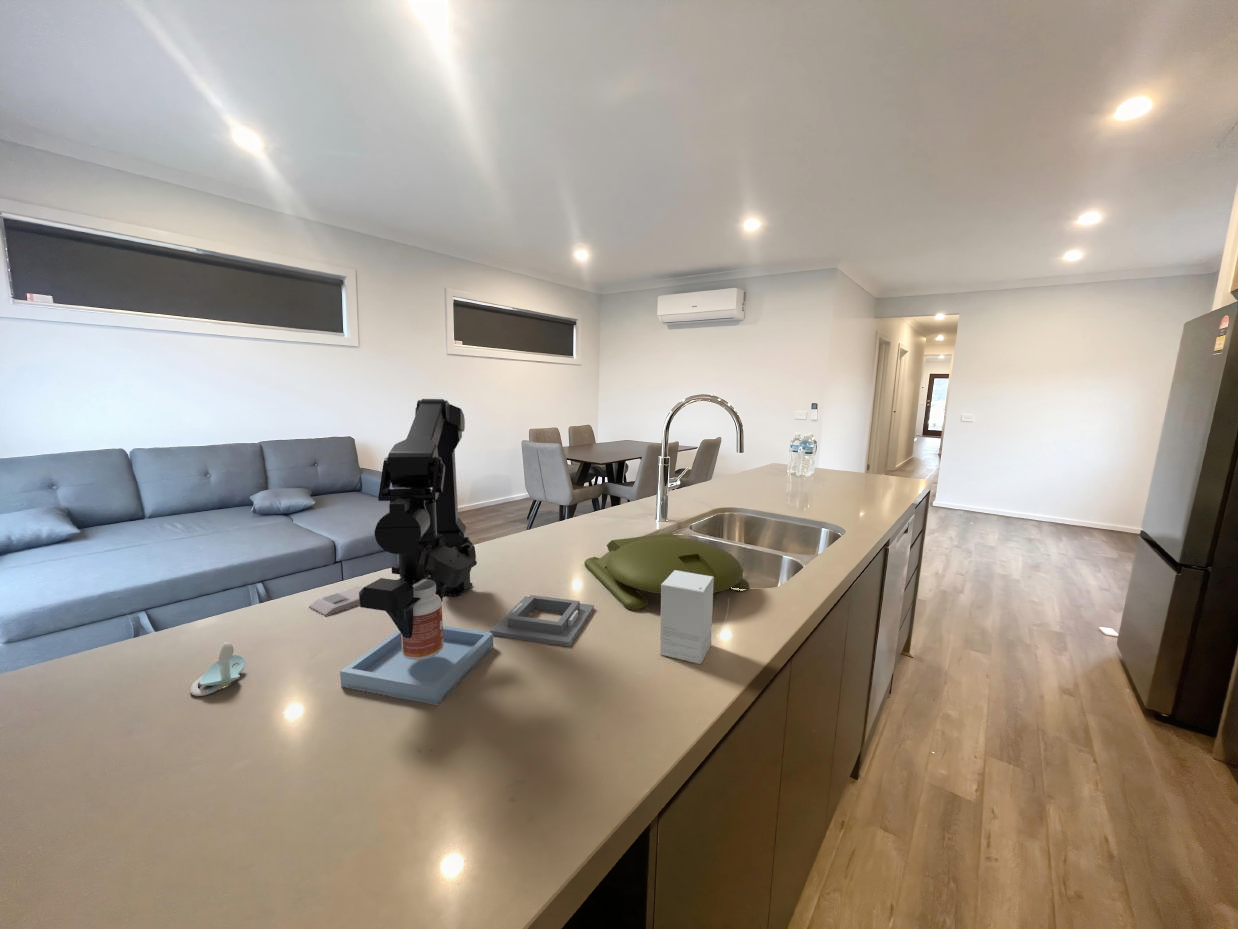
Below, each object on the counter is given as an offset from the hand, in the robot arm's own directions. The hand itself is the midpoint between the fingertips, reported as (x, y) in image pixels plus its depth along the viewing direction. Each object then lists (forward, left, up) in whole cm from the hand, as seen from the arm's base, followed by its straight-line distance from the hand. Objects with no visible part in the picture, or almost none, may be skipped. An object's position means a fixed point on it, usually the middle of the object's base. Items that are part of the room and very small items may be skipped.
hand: (421, 627), depth 76 cm
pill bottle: (0, 0, -4) cm, 4 cm away
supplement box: (+40, +16, -7) cm, 44 cm away
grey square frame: (+13, +19, -6) cm, 24 cm away
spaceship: (+33, +45, -7) cm, 56 cm away
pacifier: (-26, -12, -7) cm, 29 cm away
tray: (0, 0, -6) cm, 6 cm away
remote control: (-29, +16, -7) cm, 34 cm away
